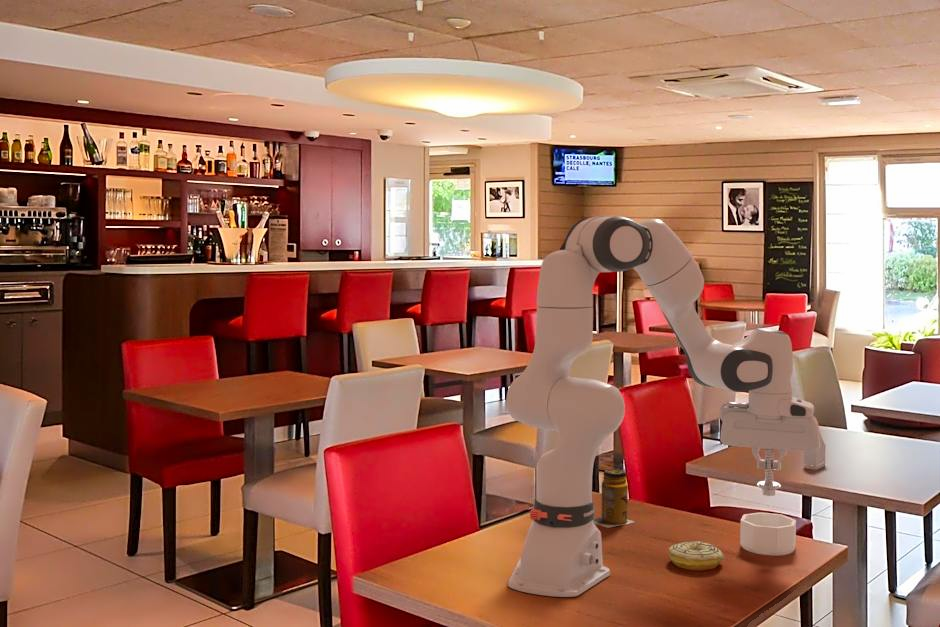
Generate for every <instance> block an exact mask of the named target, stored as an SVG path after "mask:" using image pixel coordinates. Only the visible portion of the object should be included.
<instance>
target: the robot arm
mask: <svg viewBox="0 0 940 627" xmlns="http://www.w3.org/2000/svg"><path fill="white" fill-rule="evenodd" d="M632 269H633V270H634V271H635V272H636V273H637V274H638V276H639V278H640V279H641V281H642V282H643V284H644V285H645V287H646V289H647V290H648V291H649V293H650V294H651V296H652V297H653V299H654V301H656V303H657V304H658V306H659V308H660V311H661V312H662V314H663V316H664V318H665V320H666V321H667V324H668V325H669V327H670V328H671V330H672V332H673V334H674V336H675V337H676V339H677V341H678V342H679V344H680V346H681V348H682V350H683V353H684V356H685V360H686V366H687V369H688V372H689V375H690V376H691V379H693V381H695V382H696V383H697V384H699V385H701V386H703V387H710V388H717V389H721V390H724V391H728V392H732V393H744V392H748V402H734V401H729V402H728V401H727V402H726V403H725V404H722V405H721V407H720V409H719V419H720V420H721V428H720V437H719V441H720V443H721V444H722V445H724V446H730V447H732V446H733V447H741V448H742V447H744V448H751V453H752V455H753V456H754V458H755V460H756V469H760V470H761V469H763V470H765V460H766V458H765V459H763V458H761V456H760V451H761V450H760V449H766V448H768V449H773V450H778V455H780V456H779V457H778V459H777V460H776V459H774V460H773V470H774V471H775V470H776V471H781V470H782V462H783V460H784V459H785V457H786V456H787V453H788V451H798V452H804V451H807V452H816V451H817V450H818V449H819V448H820V434H821V432H820V433H819V431H820V426H819V422H818V420H817V418H816V416H815V415H814V413H815V406H814V404H813V402H809V401H807V400H803V399H801V398H797V397H795V396H793V388H792V383H791V379H792V378H791V377H792V375H793V372H794V371H793V368H794V367H793V366H794V363H793V362H794V360H793V359H794V358H793V356H794V354H793V346H792V340H791V338H790V336H789V335H788V334H787V333H786V332H784V331H782V330H781V331H780V330H776V329H770V328H763V327H758V328H757V327H756V328H754V329H753V330H752V332H751V333H750V334H748V335H747V336H746V337H744V338H743V339H741V340H739V341H737V342H735V343H732V344H729V343H724V342H721V341H719V340H717V339H716V338H714V337H712V336H711V335H710V333H709V332H708V330H707V328H706V327H705V324H704V323H703V321H702V320H701V318H700V316H699V314H698V312H697V311H696V309H695V306H694V303H695V302H696V301H698V299H699V297H700V296H701V295H702V293H703V290H704V285H705V278H704V276H703V273H702V271H701V268H700V266H699V265H698V263H697V261H696V259H695V258H694V257H693V255H692V254H691V252H690V250H689V249H688V248H687V246H686V245H685V244H684V242H683V241H682V240H681V239H680V237H679V236H678V235H677V233H675V231H673V230H672V229H671V227H669V226H668V224H666V223H665V222H664V221H662V220H661V219H658V218H651V219H650V218H649V219H645V220H643V221H640V222H637V221H634V220H632V219H631V218H628V217H625V216H610V215H598V216H594V217H593V216H592V217H586V218H583V219H582V218H581V219H580V220H578V221H577V222H575V223H574V224H573V225H572V226H571V227H570V228H569V229H568V231H567V233H566V235H565V238H564V240H563V243H562V245H561V246H560V248H559V249H558V250H556V251H553V252H550V253H549V254H548V255H546V256H545V257H544V258H543V260H542V262H541V266H540V270H539V276H538V282H537V283H538V284H537V292H536V293H537V295H536V325H535V326H536V328H535V330H536V331H535V341H534V342H535V343H534V348H533V352H532V354H531V358H530V360H529V362H528V364H527V366H526V368H525V369H524V370H523V372H522V373H520V375H518V376H517V377H516V378H515V379H514V380H513V381H512V382H511V383H510V385H509V386H508V390H507V393H506V397H505V398H506V400H505V402H506V408H507V411H508V413H509V416H511V418H513V419H514V420H515V421H517V422H519V423H521V424H523V425H525V426H526V425H527V426H529V427H531V428H535V429H542V430H548V431H549V430H550V431H553V432H554V431H555V432H557V433H558V434H557V436H558V437H557V442H556V444H555V447H554V448H553V449H552V448H551V449H549V450H548V451H547V452H545V453H543V454H542V455H541V456H540V458H539V459H538V461H537V463H536V468H535V470H536V471H535V473H536V479H535V480H536V481H535V482H536V484H535V486H536V488H535V489H536V490H535V491H536V493H535V494H536V497H535V499H534V502H533V506H532V508H531V509H530V512H529V519H530V520H532V522H530V524H529V525H530V526H529V529H528V532H527V534H526V538H525V541H524V543H523V547H522V550H521V552H520V558H519V560H518V561H517V564H516V566H515V568H514V570H513V572H512V574H511V575H510V578H509V580H508V586H507V587H509V588H510V589H513V590H516V591H519V592H523V593H526V594H527V593H528V594H533V595H539V596H545V597H546V596H547V597H555V598H556V597H558V598H559V597H560V598H561V597H562V598H571V597H573V598H574V597H578V596H579V595H581V594H583V593H584V592H586V591H587V590H589V589H590V588H592V587H593V586H595V585H597V584H598V583H600V582H601V581H603V580H605V579H606V578H607V577H609V576H610V575H611V571H610V570H611V569H610V568H609V567H607V566H604V565H603V562H604V561H603V545H602V544H603V543H602V532H601V531H600V529H599V528H598V526H596V524H595V523H594V522H593V519H595V511H596V510H595V508H596V507H595V502H594V499H593V496H592V494H593V492H592V491H593V475H594V474H593V473H594V463H595V459H596V456H597V452H598V451H599V449H600V447H601V446H602V443H603V442H604V441H605V440H606V439H607V438H608V437H609V436H610V435H612V434H613V433H615V432H616V431H617V430H618V429H619V427H620V426H621V424H622V422H623V420H624V417H625V412H626V411H625V410H626V407H625V406H626V405H625V404H626V403H625V400H624V397H623V395H622V392H621V391H620V390H619V389H618V387H616V386H614V385H612V384H609V383H608V382H603V381H601V380H597V379H594V378H593V379H592V378H584V377H574V376H573V377H572V376H571V368H572V365H573V363H574V362H575V360H576V359H577V358H580V357H581V356H583V355H584V354H586V353H588V351H589V349H590V348H591V346H592V345H593V338H594V336H593V335H594V332H593V331H594V329H593V328H594V325H593V324H594V308H593V307H594V292H593V290H594V286H595V282H596V279H597V278H598V275H599V274H600V273H613V272H614V273H621V272H625V271H629V270H632Z"/></svg>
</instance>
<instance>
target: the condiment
mask: <svg viewBox="0 0 940 627" xmlns="http://www.w3.org/2000/svg"><path fill="white" fill-rule="evenodd" d="M603 471H604V472H603V479H602V480H603V481H602V483H601V516H599V517H594V519H593V522H594V524H595V525H598V526H601V527H604V528H607V529H609V528H610V529H611V528H613V527H617V526H619V527H620V526H625V525H630V524H633V523H635V521H634V520H631V519H630V520H629V519H628V506H629V505H628V497H629V496H628V495H629V494H628V490H629V487H628V486H629V485H628V482H627V472H626V471H625V470H623V469H619V468H617V469H616V468H615V469H614V468H613V469H612V468H611V469H606V470H603Z"/></svg>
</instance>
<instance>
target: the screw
mask: <svg viewBox="0 0 940 627" xmlns="http://www.w3.org/2000/svg"><path fill="white" fill-rule="evenodd" d="M764 450H765V454H764V456H765V457H764V458H765V468H764V475H765V476H764V480H760V481H758V482H757V483H756V486H757V487H758V488H760V489H761V490H762V491H761V493H762V495H763V496H768V497H773V496H776V491H777V490H778V489H781V488H782V486H781V484H780V483H779V482H777V481H774V471H775V470H773V461H774V460H775V458H774V455H775V453H774V452H775V451H774V450H775V449H768V448H764Z"/></svg>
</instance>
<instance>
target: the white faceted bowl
mask: <svg viewBox="0 0 940 627" xmlns="http://www.w3.org/2000/svg"><path fill="white" fill-rule="evenodd" d="M739 527H740V529H739V530H740V535H739V537H740V538H739V544H740V545H741V548H742V549H743V550H745V551H747V552H749V553H752V554H754V555H755V554H756V555H760V556H761V555H762V556H770V557H771V556H772V557H775V556H777V557H779V556H788V555H791V554H793V553H795V549H796V548H795V547H796V541H797V540H796V538H797V537H796V535H797V520H796V519H795V518H792V517H789V516H786V515H784V514H780V513H769V512H759V511H758V512H754V513H753V512H751V513H744V514H742V517H741V519H740V526H739Z"/></svg>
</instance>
